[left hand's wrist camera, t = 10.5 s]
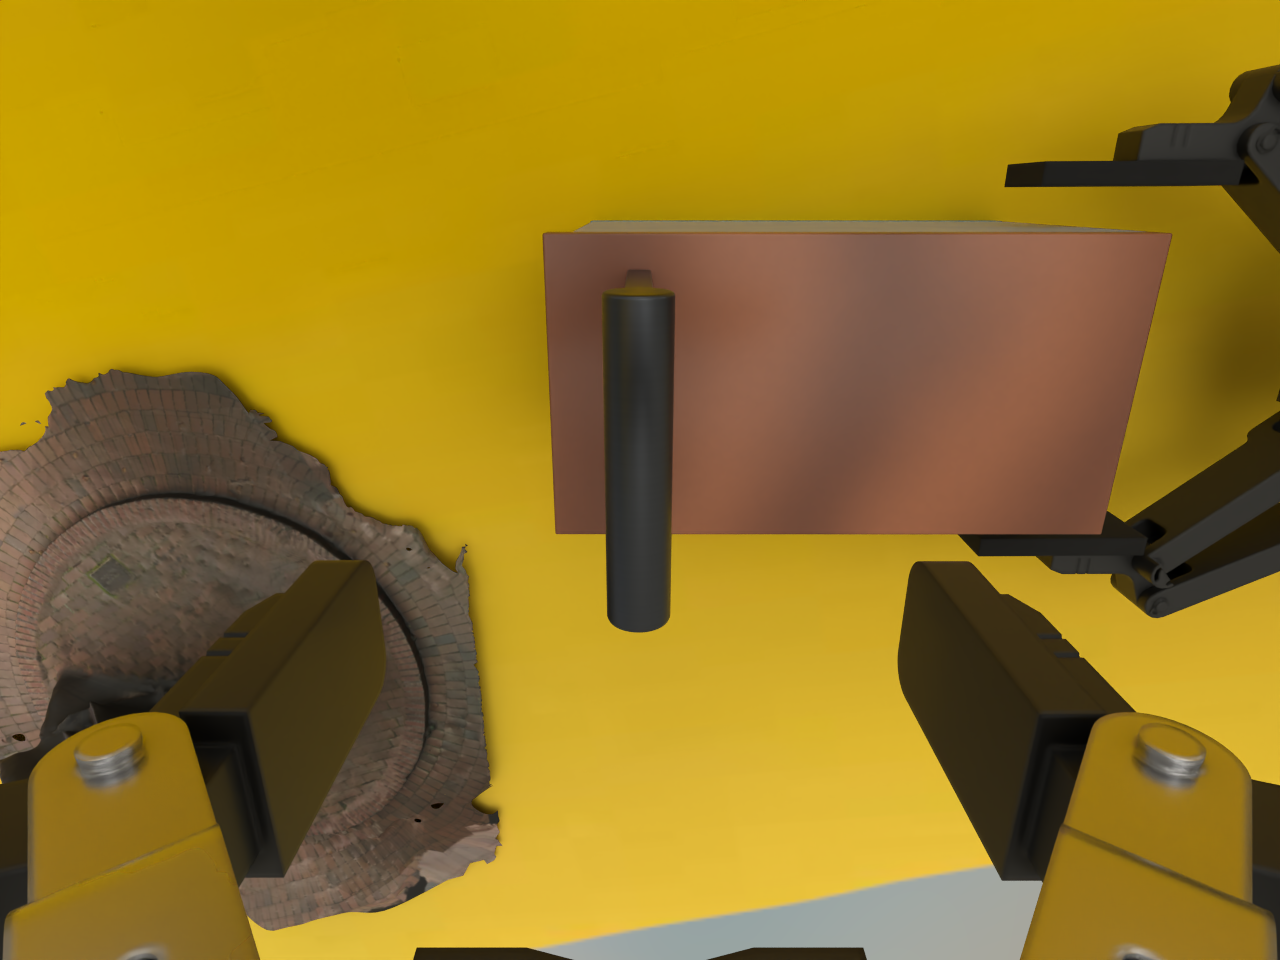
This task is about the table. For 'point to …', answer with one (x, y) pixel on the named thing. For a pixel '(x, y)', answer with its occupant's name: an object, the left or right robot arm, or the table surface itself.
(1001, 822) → the left robot arm
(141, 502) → the sculpture
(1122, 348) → the lid
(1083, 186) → the right robot arm
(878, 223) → the chest
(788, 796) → the table surface
